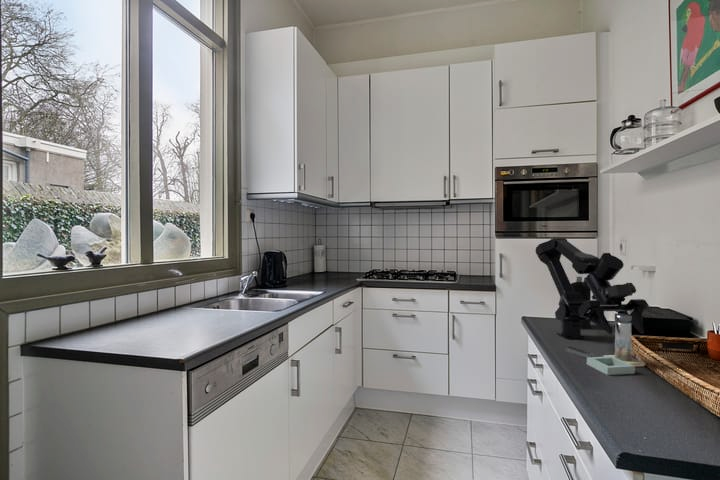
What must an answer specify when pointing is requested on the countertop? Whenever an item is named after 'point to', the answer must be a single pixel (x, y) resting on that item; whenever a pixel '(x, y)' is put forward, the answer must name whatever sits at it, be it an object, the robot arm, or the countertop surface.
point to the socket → (617, 367)
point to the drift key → (579, 352)
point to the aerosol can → (586, 293)
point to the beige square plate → (632, 361)
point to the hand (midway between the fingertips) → (627, 333)
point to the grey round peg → (623, 336)
